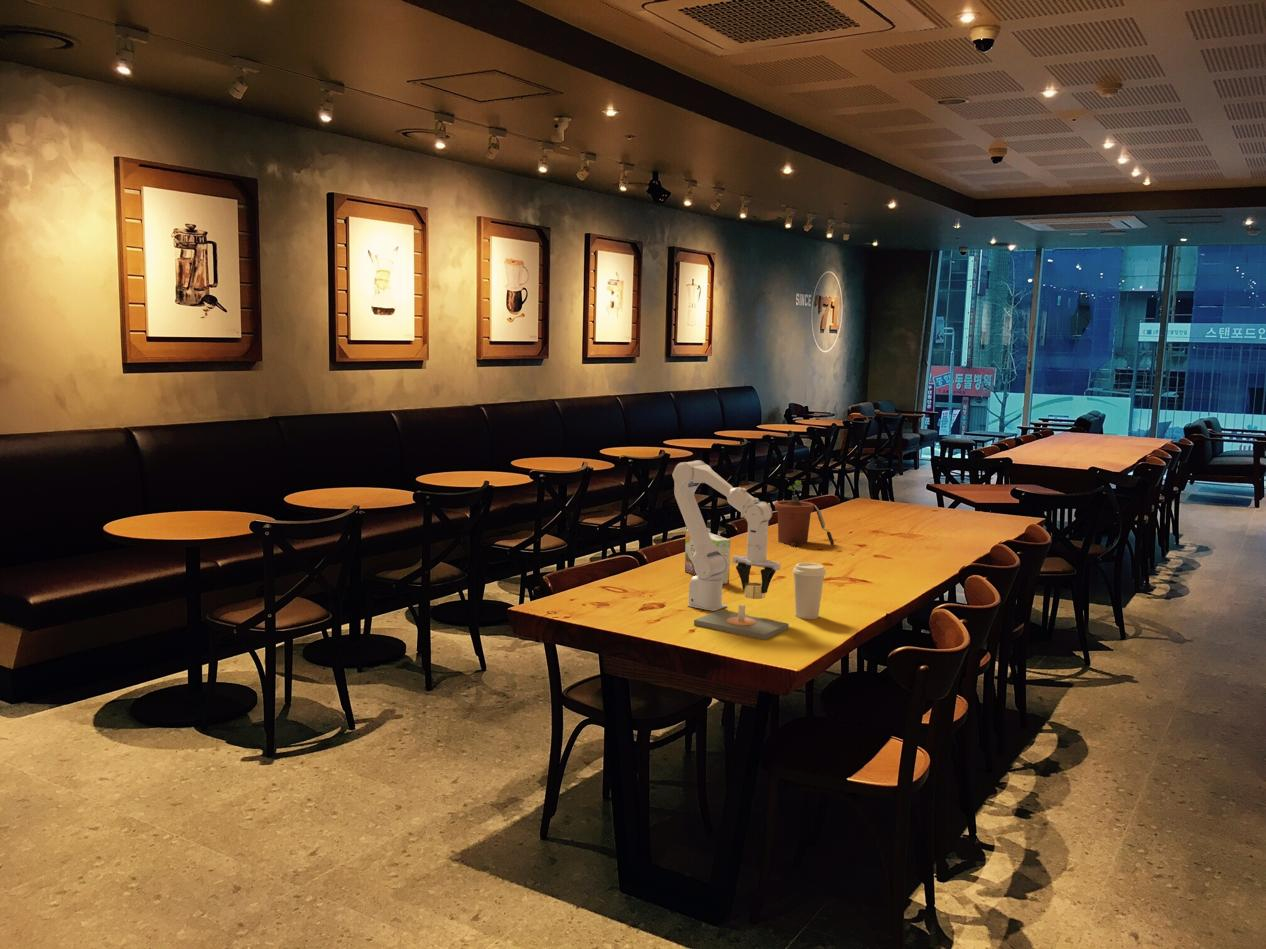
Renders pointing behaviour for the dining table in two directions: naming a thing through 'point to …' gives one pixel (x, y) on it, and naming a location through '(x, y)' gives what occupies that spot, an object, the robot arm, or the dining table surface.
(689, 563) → the snack box
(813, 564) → the coffee cup
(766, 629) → the post board
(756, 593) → the wooden collar
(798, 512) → the potted plant
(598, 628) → the dining table surface
